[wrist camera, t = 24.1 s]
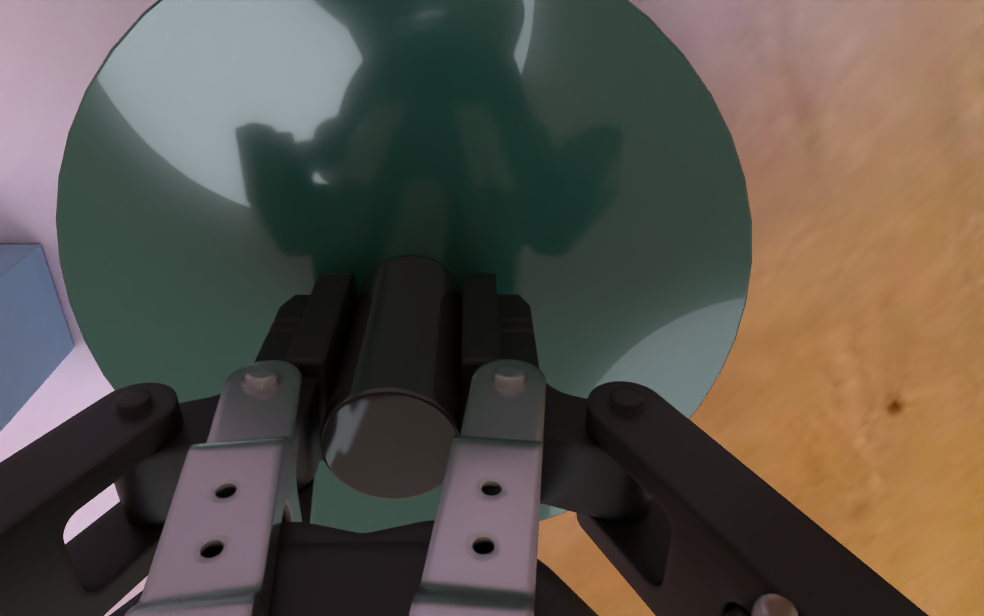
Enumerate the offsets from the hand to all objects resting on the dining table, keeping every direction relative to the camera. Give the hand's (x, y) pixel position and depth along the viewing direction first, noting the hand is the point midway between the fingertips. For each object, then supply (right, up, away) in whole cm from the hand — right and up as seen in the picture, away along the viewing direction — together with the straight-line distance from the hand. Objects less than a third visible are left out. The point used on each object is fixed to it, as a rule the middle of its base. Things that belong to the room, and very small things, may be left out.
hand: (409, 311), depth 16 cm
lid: (0, 0, +1) cm, 1 cm away
